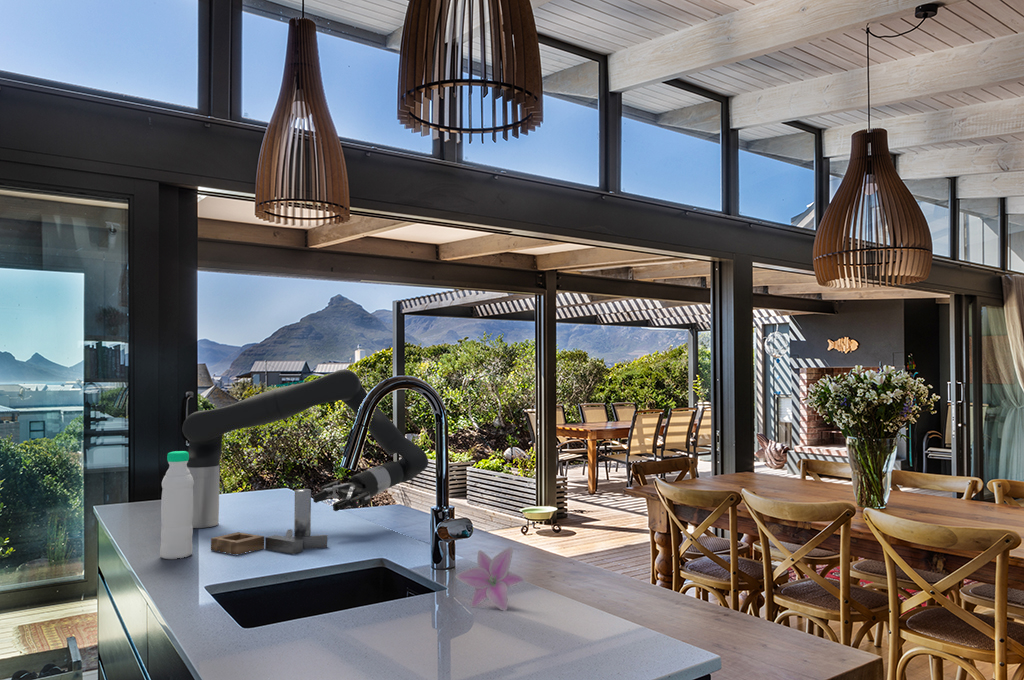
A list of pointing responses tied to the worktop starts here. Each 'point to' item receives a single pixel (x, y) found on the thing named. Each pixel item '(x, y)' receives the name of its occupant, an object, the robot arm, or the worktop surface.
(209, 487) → the robot arm
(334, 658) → the worktop surface
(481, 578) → the lily
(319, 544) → the v block
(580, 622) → the worktop surface
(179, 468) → the water bottle
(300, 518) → the gray rectangular bar
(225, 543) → the brown wooden open box
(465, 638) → the worktop surface
